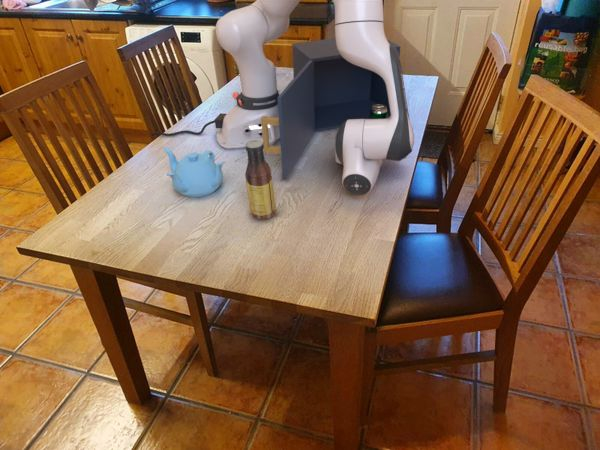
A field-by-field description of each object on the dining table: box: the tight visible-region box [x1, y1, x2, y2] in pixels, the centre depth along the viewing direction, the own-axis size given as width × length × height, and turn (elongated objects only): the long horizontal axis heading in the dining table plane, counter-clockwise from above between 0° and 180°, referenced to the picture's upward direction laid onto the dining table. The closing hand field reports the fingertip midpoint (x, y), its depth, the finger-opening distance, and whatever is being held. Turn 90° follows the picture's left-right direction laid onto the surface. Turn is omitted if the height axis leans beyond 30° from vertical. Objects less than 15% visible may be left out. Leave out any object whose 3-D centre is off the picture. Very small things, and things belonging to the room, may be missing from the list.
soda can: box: [370, 104, 387, 119], centre depth 140 cm, size 5×5×12 cm
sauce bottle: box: [244, 139, 276, 221], centre depth 109 cm, size 7×6×20 cm
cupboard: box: [291, 37, 401, 133], centre depth 154 cm, size 18×30×24 cm, turn 108°
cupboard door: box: [261, 60, 315, 181], centre depth 132 cm, size 7×30×24 cm, turn 163°
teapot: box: [163, 147, 226, 198], centre depth 123 cm, size 15×15×10 cm
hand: (374, 133), depth 134 cm, fingers open, 8 cm apart
